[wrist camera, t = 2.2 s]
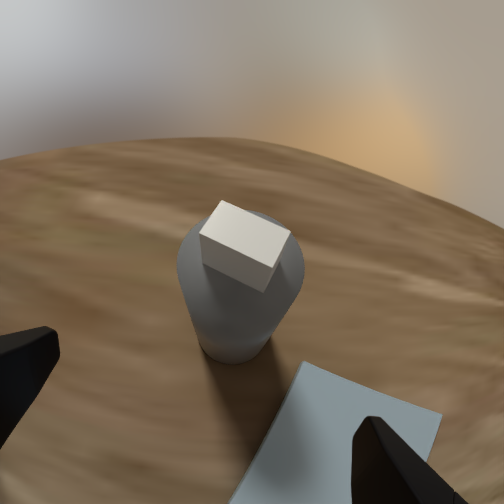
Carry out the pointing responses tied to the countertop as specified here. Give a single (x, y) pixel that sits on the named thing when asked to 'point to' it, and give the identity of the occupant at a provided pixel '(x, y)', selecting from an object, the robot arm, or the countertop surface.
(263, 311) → the grey tall rounded piece
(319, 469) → the coaster
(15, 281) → the countertop surface
